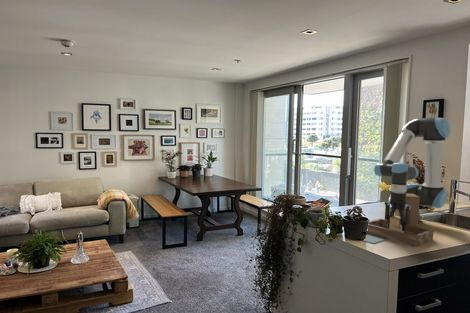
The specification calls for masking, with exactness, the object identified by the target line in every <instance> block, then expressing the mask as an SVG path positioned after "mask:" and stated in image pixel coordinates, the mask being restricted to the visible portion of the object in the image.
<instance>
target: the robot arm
mask: <svg viewBox="0 0 470 313" xmlns="http://www.w3.org/2000/svg"><path fill="white" fill-rule="evenodd" d="M450 134H451V126H450V123H449V121H448V120H447V118H444V117H418V118H415V119H412V120H410V121H409V122H407V123H406V124H405V125H404V126H403V127H401V128H400V130H399V132H398V137H397V139H396V140H395V141H394V143H393V145H392V147H391V148H390V150H389V151H388V153H387V155H386V156H385V158H384V159H383V161H382V162H380V163H376V164H375V165H374V168H373V172H374V174H375V176H377V177H381V178H390V179H391V182H390V191H391V192H390V195H389V196H390V200H389V201H385V202H384V205H385V208H384V210H385V211H384V219H385V220H387V221H388V227H389V229H390V217H392V216H395V211H396V209H397V210H398V211H399V213H400V218H401V223H402V224H400V232H402V233H404V231H405V228H406V225H407V224H410V209H411V206H409V205H407V204H406V194H415V195H417V196H419V197H420V200H419V206H424V207H429V208H433V209H434V208H435V209H441V208H443V207H444V206H445V204H446V202H447V200H448V191H447V189H445V188H444V185H443V184H442V166H443V165H442V163H443V162H442V160H443V144H444V143H445V142H446V139H448V138H449V137H450ZM416 138H422V140H423V142H424V143H425V152H424V154H425V157H424V158H425V159H424V182H422V183H421V184H420V183H414V182H413V183H408V181H409V180H410V181H411V180H414V179H416V178H417V177H418V176H419V173H420V171H419V169H418V167H416V166H414V165H408V163H405V162H400V161H401V160H402V158H403V156H404V154H405V152H406V151H407V149H408V148H409V146H410V144H411V143H412V142H413V141H415V139H416ZM404 207H406V213H405V215H404ZM420 222H422V216H421V212H420V211H419V217H418V223H420Z"/></svg>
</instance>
